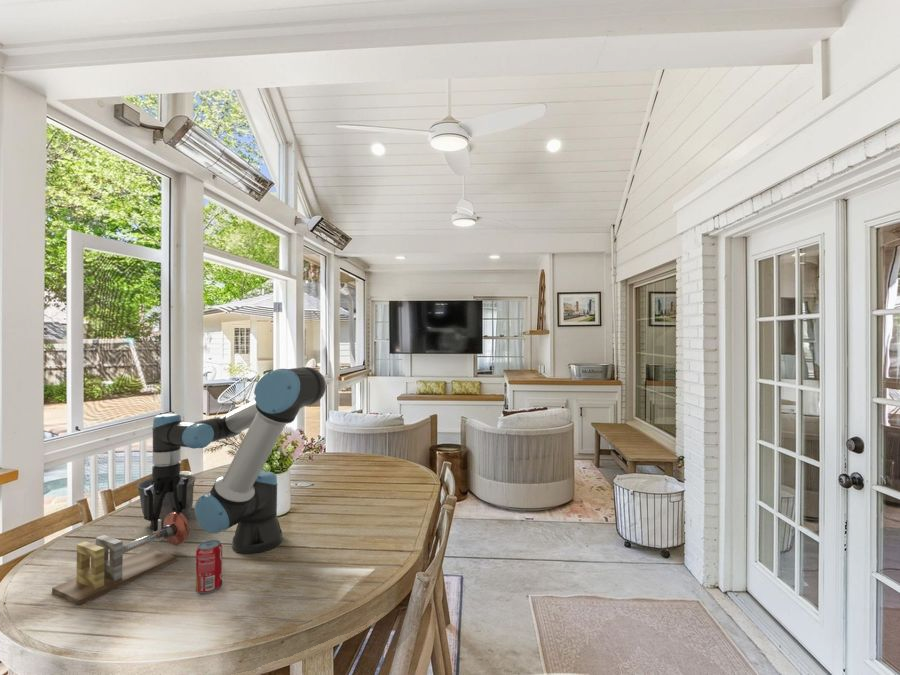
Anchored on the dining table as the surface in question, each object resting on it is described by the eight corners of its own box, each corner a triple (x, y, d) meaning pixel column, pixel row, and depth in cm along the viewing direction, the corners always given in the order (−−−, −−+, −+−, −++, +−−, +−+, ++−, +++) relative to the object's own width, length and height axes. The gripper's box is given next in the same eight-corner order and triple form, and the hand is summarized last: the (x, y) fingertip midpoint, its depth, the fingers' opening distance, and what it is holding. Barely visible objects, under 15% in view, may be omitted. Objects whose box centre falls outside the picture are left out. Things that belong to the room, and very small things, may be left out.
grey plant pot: (151, 536, 152) (151, 492, 152) (127, 524, 161) (127, 483, 161) (203, 518, 167) (204, 478, 167) (179, 509, 176) (179, 471, 176)
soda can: (194, 597, 116) (194, 550, 116) (197, 585, 122) (197, 540, 122) (221, 591, 118) (221, 546, 119) (222, 580, 124) (223, 536, 124)
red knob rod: (189, 546, 140) (189, 514, 140) (129, 572, 124) (129, 536, 124) (168, 540, 144) (168, 509, 144) (108, 564, 129) (108, 529, 129)
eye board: (176, 560, 135) (176, 523, 135) (79, 604, 112) (79, 560, 112) (149, 551, 141) (150, 516, 141) (52, 592, 118) (52, 549, 118)
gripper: (185, 455, 151) (184, 524, 151) (129, 468, 136) (128, 546, 135) (200, 458, 148) (199, 528, 148) (145, 472, 132) (143, 551, 132)
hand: (165, 536), depth 142 cm, fingers open, 4 cm apart
